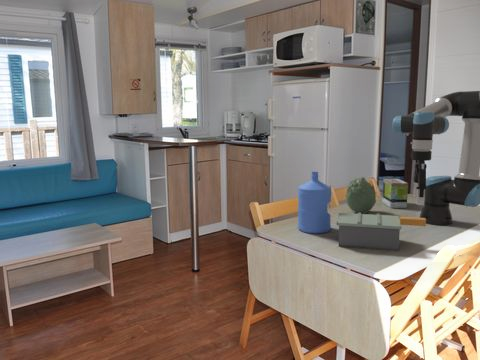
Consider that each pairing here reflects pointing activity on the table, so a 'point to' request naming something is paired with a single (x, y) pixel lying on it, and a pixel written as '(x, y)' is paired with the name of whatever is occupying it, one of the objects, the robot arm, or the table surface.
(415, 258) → the table surface
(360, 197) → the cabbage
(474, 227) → the table surface
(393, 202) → the tea box
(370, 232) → the parts tub
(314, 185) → the water jug
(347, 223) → the lid
